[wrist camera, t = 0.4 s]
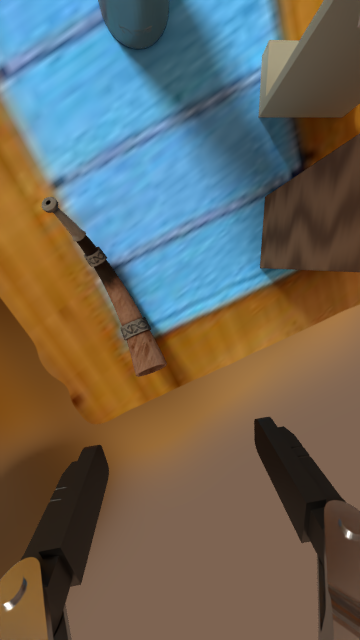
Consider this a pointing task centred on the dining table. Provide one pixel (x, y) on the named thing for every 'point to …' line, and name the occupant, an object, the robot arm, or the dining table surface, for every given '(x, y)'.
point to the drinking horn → (116, 299)
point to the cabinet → (316, 216)
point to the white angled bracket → (315, 67)
